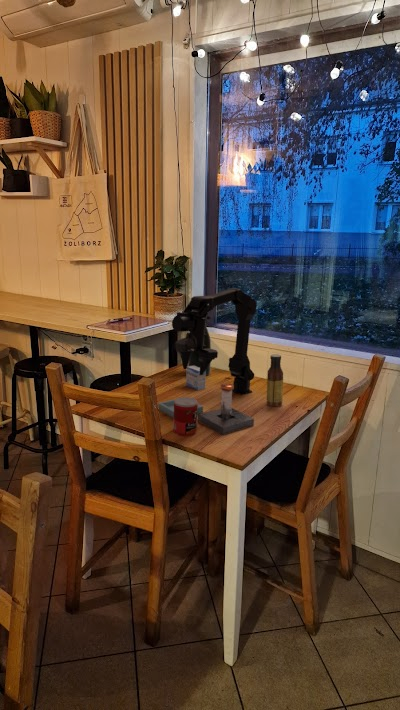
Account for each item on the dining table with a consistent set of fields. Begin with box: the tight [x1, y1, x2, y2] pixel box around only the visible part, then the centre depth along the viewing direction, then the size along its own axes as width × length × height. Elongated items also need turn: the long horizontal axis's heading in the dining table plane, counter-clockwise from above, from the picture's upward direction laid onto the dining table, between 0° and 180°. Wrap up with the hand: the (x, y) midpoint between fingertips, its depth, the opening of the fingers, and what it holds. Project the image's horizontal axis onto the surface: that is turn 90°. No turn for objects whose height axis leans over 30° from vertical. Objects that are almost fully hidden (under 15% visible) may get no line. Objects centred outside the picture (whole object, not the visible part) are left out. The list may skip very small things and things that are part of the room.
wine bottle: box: [187, 326, 212, 376], centre depth 219 cm, size 10×10×33 cm
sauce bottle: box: [266, 353, 284, 407], centre depth 185 cm, size 7×6×20 cm
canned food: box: [173, 396, 199, 437], centre depth 159 cm, size 8×8×11 cm
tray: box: [157, 398, 204, 419], centre depth 177 cm, size 12×12×2 cm
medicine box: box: [185, 366, 207, 391], centre depth 204 cm, size 8×4×9 cm, turn 42°
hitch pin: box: [219, 382, 234, 420], centre depth 166 cm, size 5×5×14 cm
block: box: [197, 407, 255, 435], centre depth 168 cm, size 14×14×2 cm
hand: (192, 372), depth 179 cm, fingers open, 9 cm apart
